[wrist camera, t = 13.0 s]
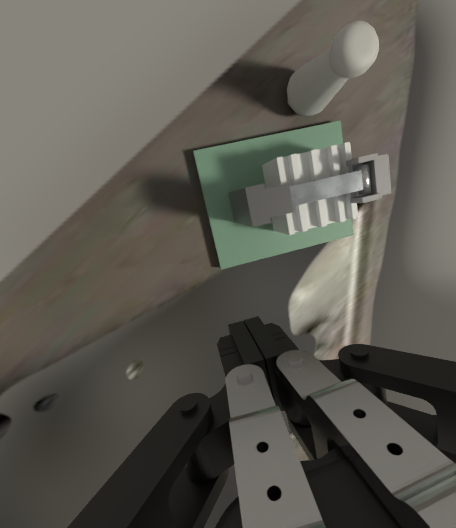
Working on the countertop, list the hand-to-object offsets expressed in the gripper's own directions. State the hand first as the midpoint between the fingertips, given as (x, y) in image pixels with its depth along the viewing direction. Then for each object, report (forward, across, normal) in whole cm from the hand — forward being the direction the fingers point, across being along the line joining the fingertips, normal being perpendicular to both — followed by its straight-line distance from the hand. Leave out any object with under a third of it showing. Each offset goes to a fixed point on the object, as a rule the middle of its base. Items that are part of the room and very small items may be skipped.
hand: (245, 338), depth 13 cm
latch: (+26, -8, -5) cm, 27 cm away
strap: (+19, -14, -5) cm, 25 cm away
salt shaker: (+27, -18, -17) cm, 37 cm away
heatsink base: (+27, -13, -5) cm, 30 cm away
